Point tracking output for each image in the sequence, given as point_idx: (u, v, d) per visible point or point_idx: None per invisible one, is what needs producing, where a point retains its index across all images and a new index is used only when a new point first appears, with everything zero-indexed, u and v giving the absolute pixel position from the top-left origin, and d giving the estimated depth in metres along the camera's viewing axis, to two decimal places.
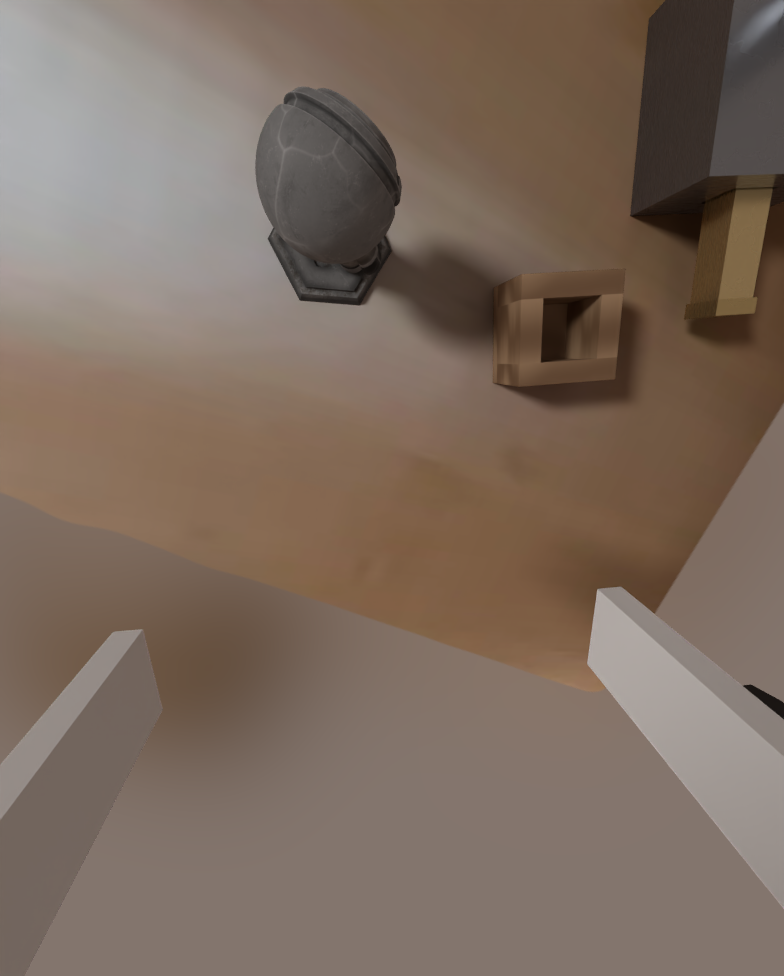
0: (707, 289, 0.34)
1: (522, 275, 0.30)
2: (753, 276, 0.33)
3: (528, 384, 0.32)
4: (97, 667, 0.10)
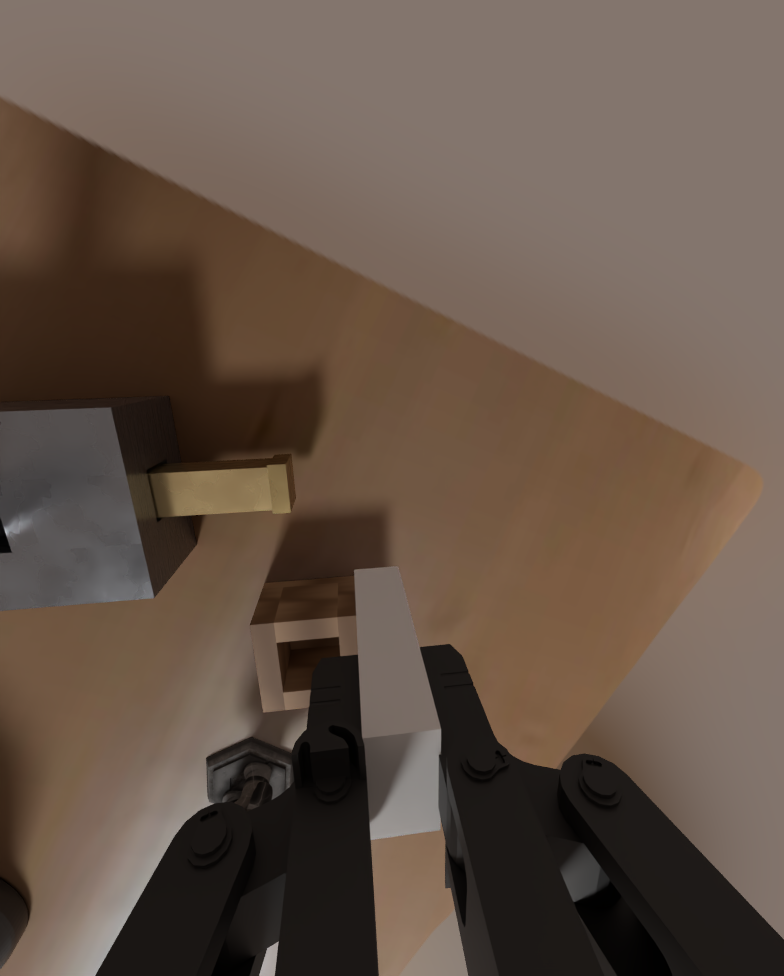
0: None
1: (264, 711, 0.32)
2: (244, 472, 0.27)
3: None
4: (366, 590, 0.13)
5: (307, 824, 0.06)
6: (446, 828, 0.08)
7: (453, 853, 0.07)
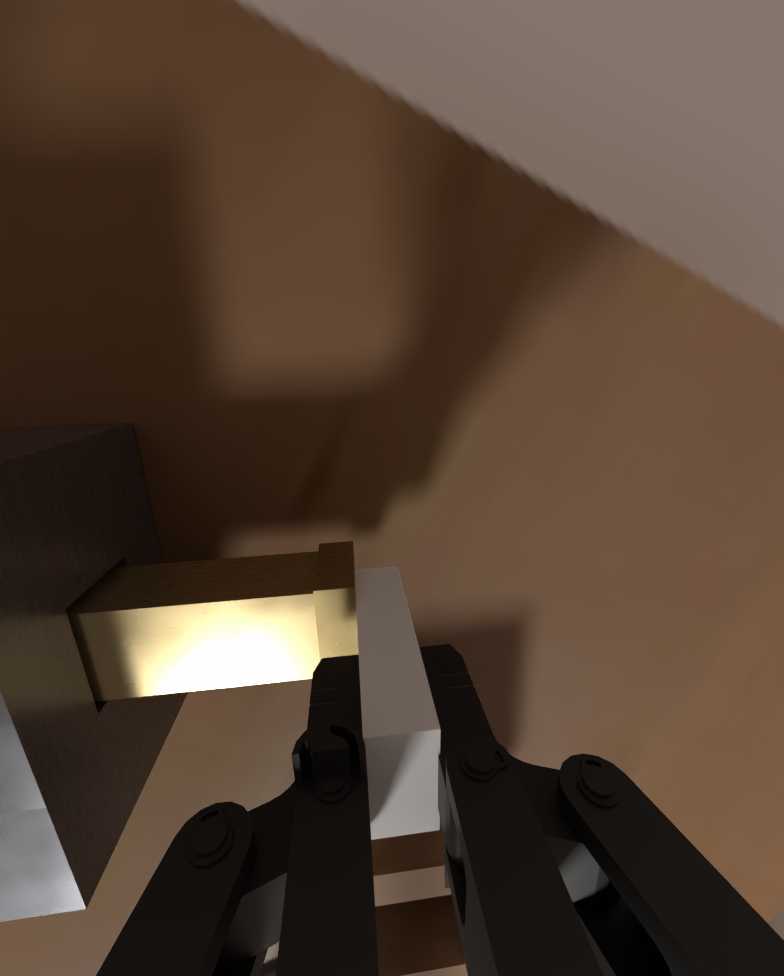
0: None
1: None
2: (262, 606, 0.12)
3: None
4: (366, 590, 0.13)
5: (308, 824, 0.06)
6: (446, 828, 0.08)
7: (452, 853, 0.07)
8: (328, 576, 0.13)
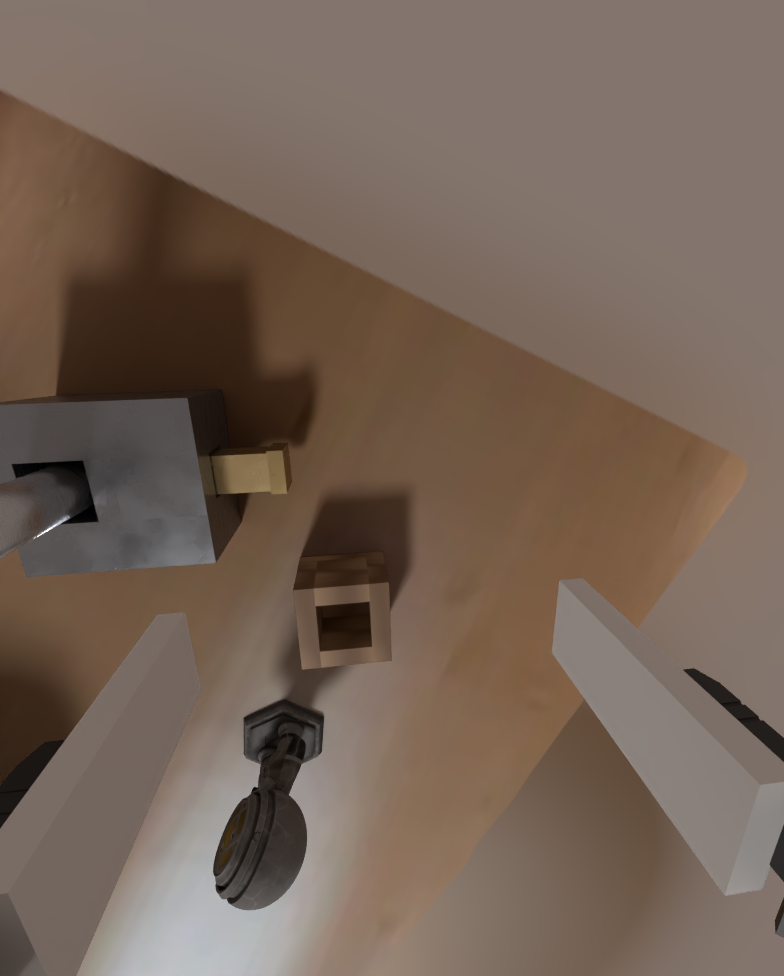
0: None
1: (302, 669, 0.37)
2: (246, 457, 0.31)
3: (390, 653, 0.37)
4: (147, 645, 0.10)
5: None
6: None
7: None
8: (273, 449, 0.32)
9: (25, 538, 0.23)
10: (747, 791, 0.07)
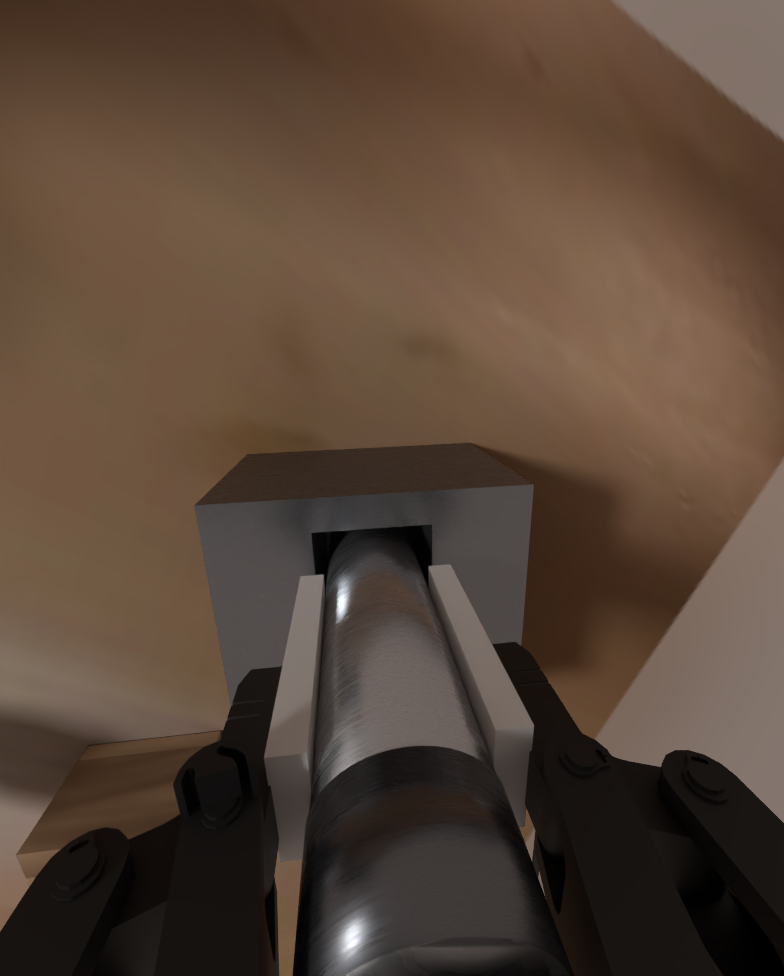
0: None
1: (17, 855, 0.20)
2: None
3: None
4: (306, 598, 0.12)
5: (192, 855, 0.06)
6: (539, 818, 0.08)
7: (545, 843, 0.08)
8: None
9: None
10: (492, 737, 0.08)
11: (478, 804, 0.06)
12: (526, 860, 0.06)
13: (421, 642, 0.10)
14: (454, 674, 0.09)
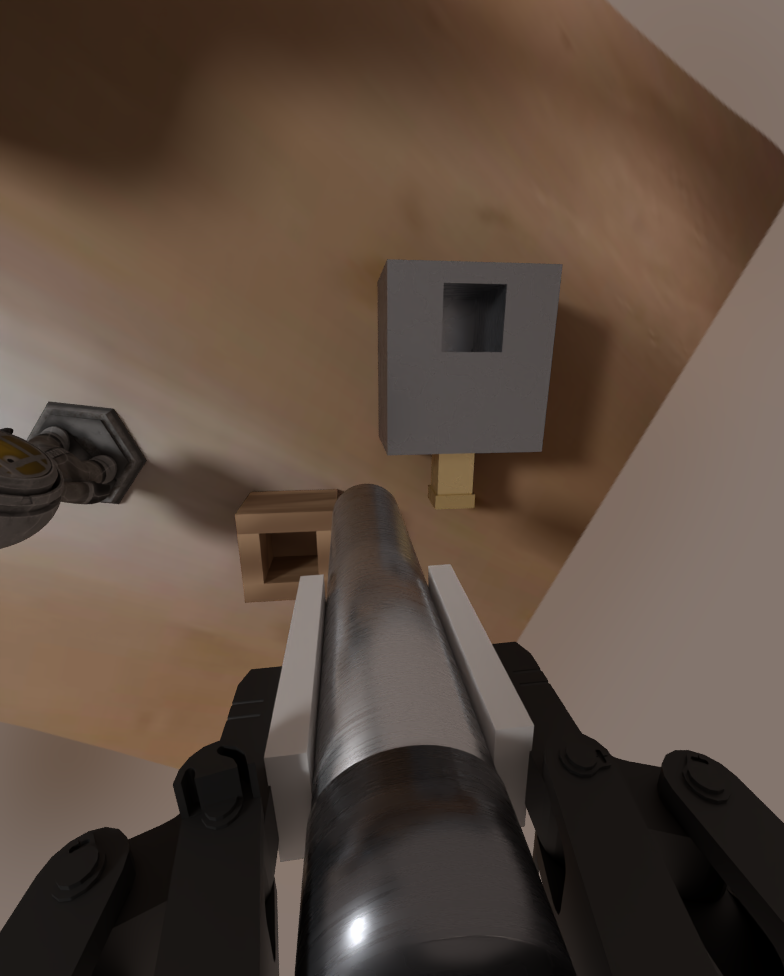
0: (434, 480, 0.36)
1: (235, 515, 0.33)
2: (470, 476, 0.35)
3: (254, 600, 0.35)
4: (306, 598, 0.12)
5: (192, 855, 0.06)
6: (539, 818, 0.08)
7: (545, 843, 0.08)
8: None
9: None
10: (492, 736, 0.08)
11: (480, 802, 0.06)
12: (528, 859, 0.06)
13: (422, 641, 0.10)
14: (455, 673, 0.09)
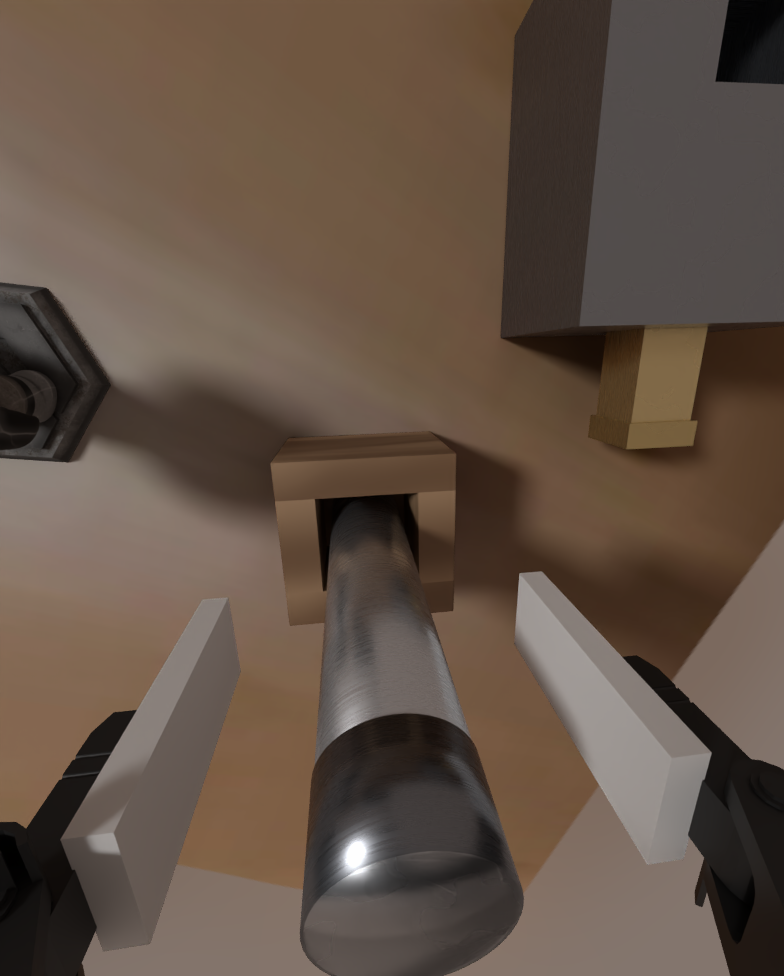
0: (617, 400, 0.20)
1: (271, 465, 0.17)
2: (691, 387, 0.19)
3: (305, 622, 0.20)
4: (198, 626, 0.11)
5: None
6: (713, 842, 0.07)
7: (720, 870, 0.07)
8: None
9: None
10: (662, 764, 0.07)
11: (452, 758, 0.08)
12: (488, 802, 0.08)
13: (411, 628, 0.11)
14: (439, 655, 0.11)
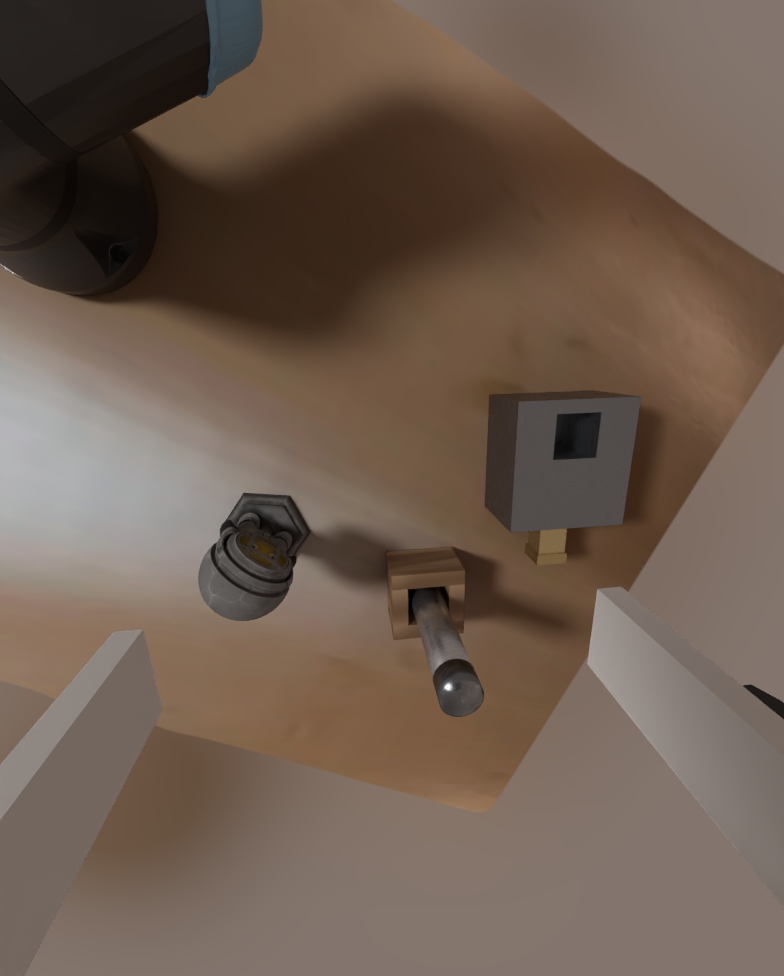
0: (534, 542, 0.47)
1: (392, 577, 0.44)
2: (563, 540, 0.46)
3: (400, 638, 0.46)
4: (97, 667, 0.10)
5: None
6: None
7: None
8: None
9: None
10: None
11: (468, 667, 0.34)
12: (476, 676, 0.34)
13: (454, 638, 0.38)
14: (462, 646, 0.37)
